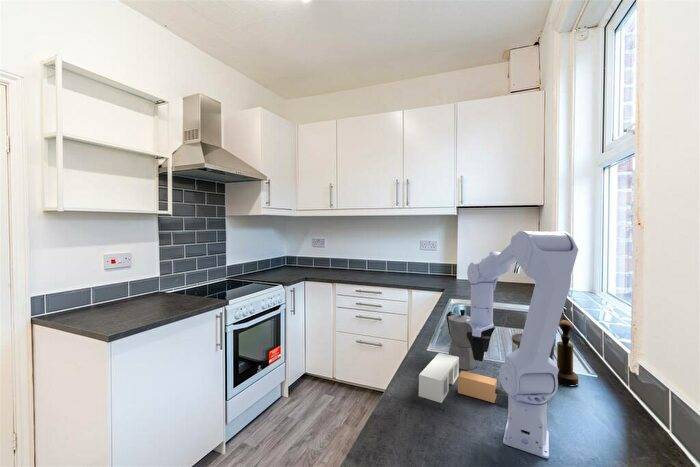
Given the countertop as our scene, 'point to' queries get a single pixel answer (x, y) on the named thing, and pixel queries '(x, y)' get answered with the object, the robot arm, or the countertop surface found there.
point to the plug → (479, 386)
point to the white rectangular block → (438, 377)
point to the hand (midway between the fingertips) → (480, 355)
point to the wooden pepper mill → (565, 357)
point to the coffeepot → (460, 340)
